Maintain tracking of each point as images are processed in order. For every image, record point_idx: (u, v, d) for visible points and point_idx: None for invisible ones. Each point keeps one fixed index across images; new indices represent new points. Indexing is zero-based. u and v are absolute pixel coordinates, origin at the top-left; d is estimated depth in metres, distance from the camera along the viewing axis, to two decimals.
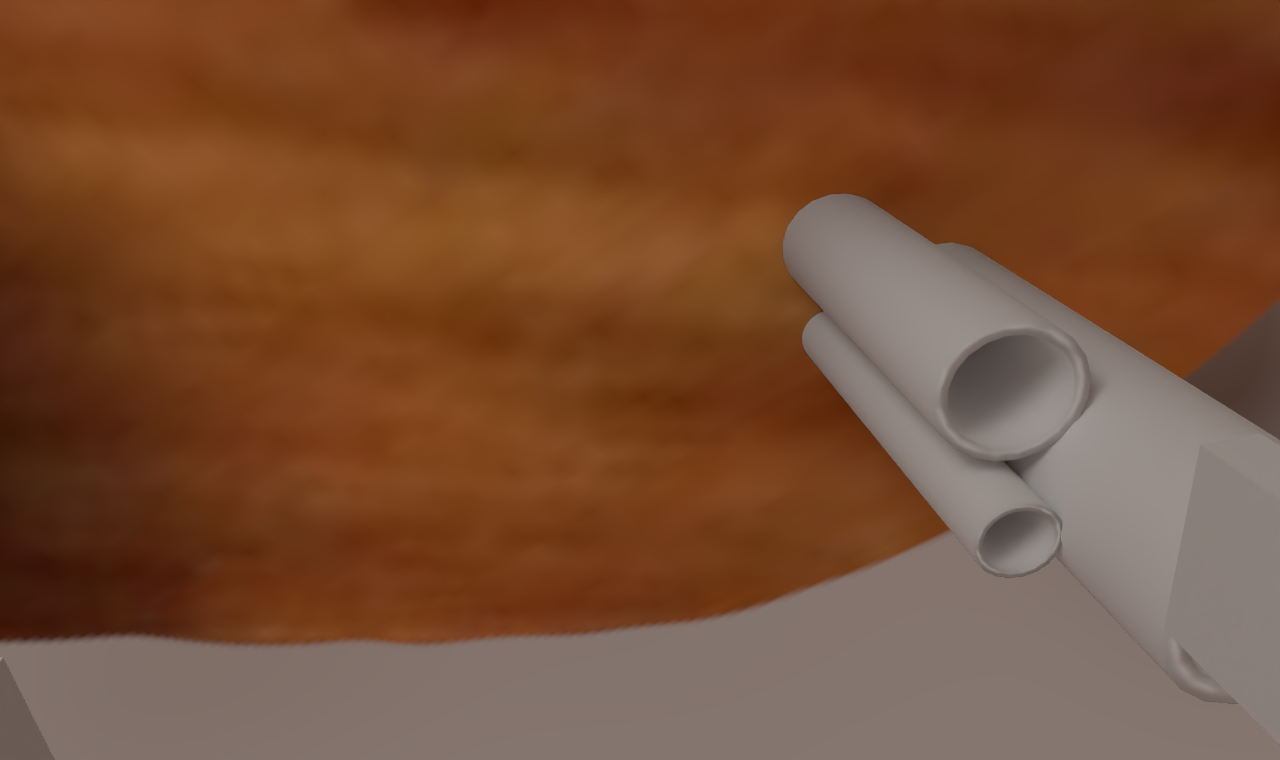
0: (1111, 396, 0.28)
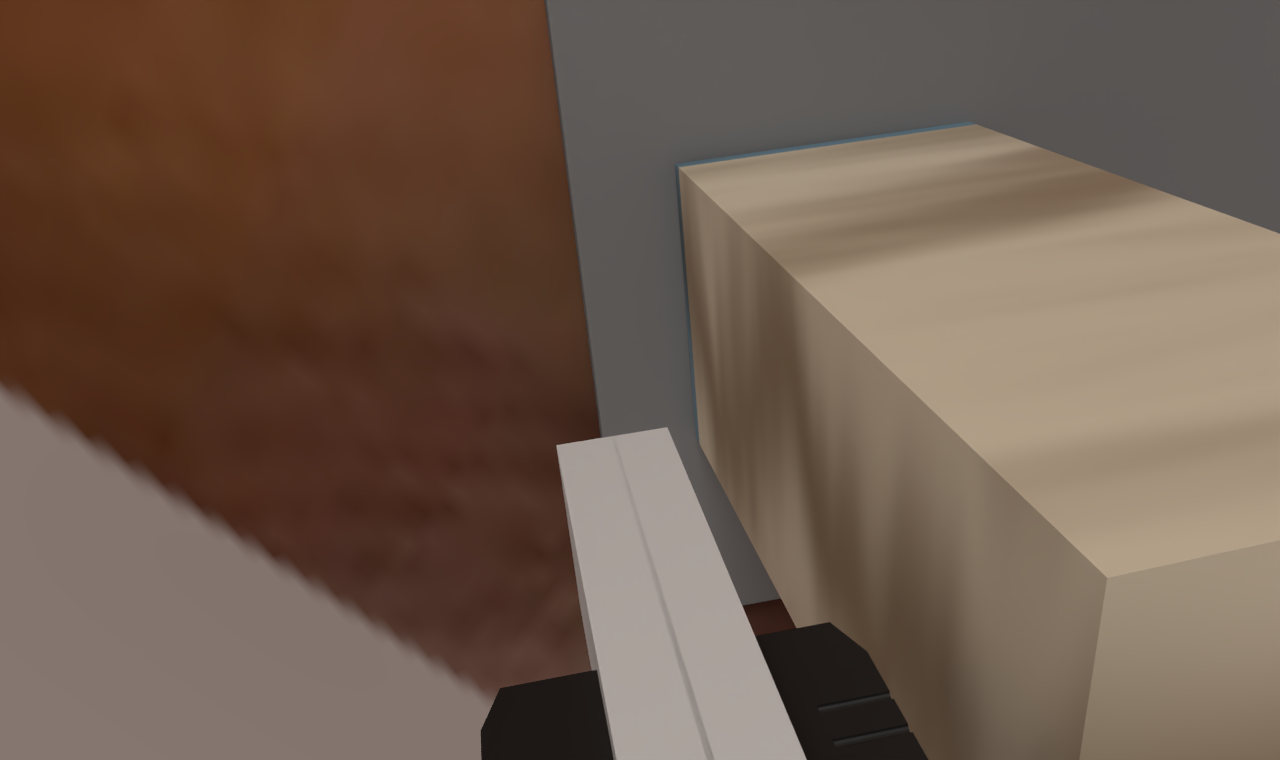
0: None
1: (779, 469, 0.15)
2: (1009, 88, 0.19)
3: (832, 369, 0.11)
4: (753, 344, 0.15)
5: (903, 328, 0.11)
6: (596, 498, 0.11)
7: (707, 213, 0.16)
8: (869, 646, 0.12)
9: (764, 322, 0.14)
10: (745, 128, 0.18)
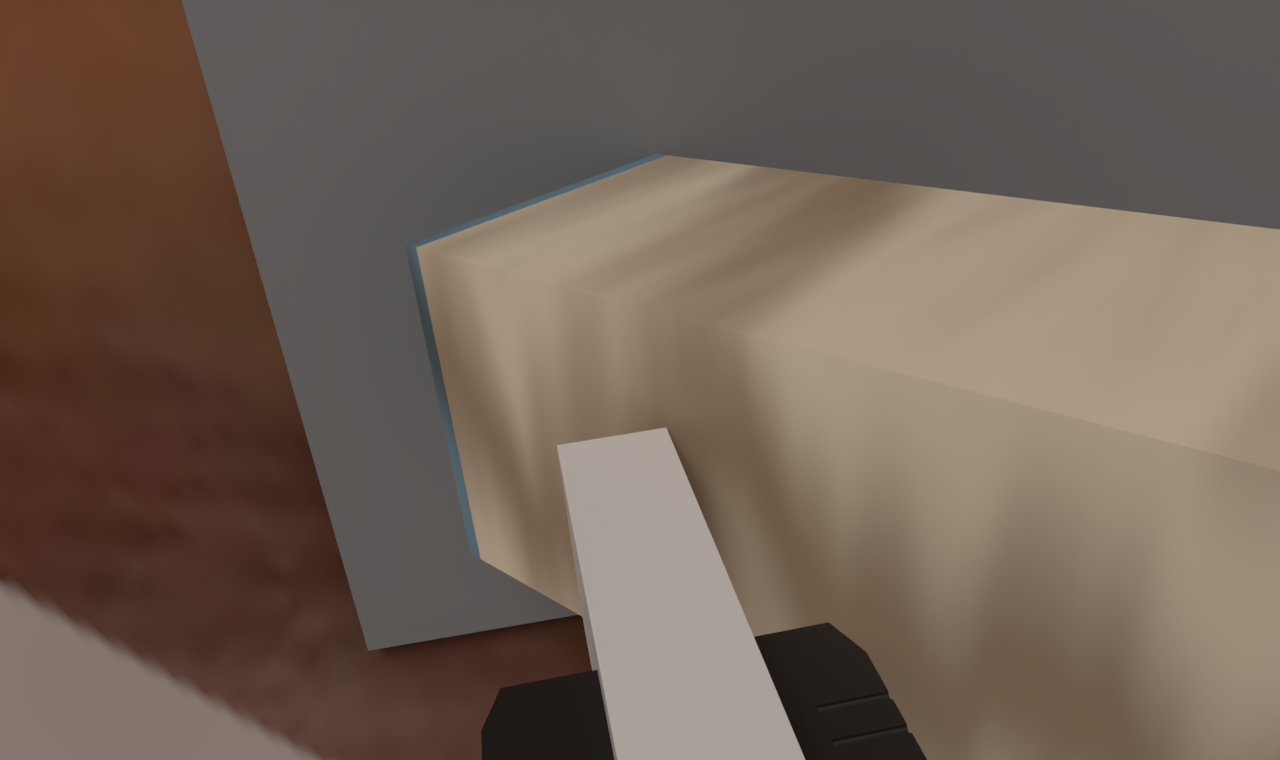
0: None
1: None
2: (695, 120, 0.19)
3: (846, 418, 0.10)
4: (636, 421, 0.13)
5: (930, 353, 0.10)
6: (596, 498, 0.11)
7: (503, 291, 0.14)
8: (933, 691, 0.11)
9: (665, 393, 0.12)
10: (419, 160, 0.18)
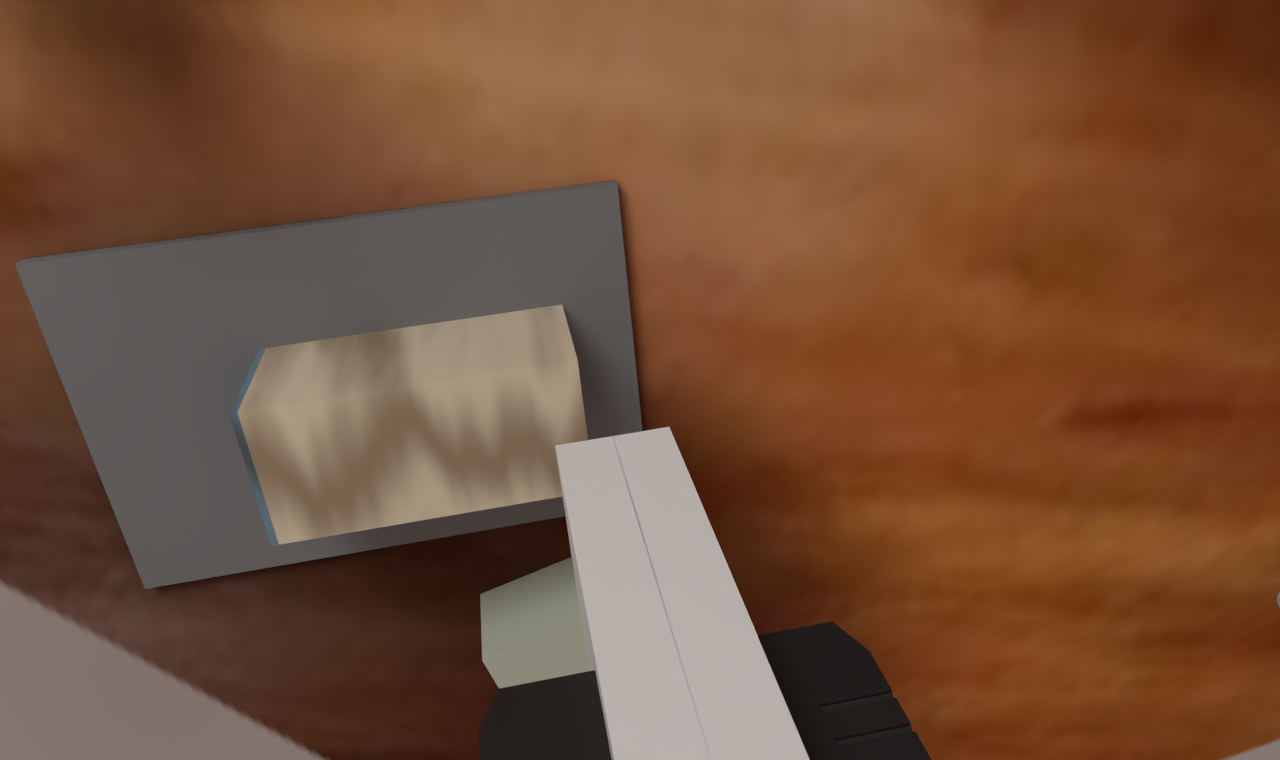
0: None
1: (404, 467, 0.37)
2: (275, 334, 0.40)
3: (448, 397, 0.36)
4: (368, 434, 0.37)
5: (462, 371, 0.37)
6: (594, 499, 0.11)
7: (295, 411, 0.36)
8: (493, 464, 0.38)
9: (381, 418, 0.36)
10: (143, 356, 0.40)
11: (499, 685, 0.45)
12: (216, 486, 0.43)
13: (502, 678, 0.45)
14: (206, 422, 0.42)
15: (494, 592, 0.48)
